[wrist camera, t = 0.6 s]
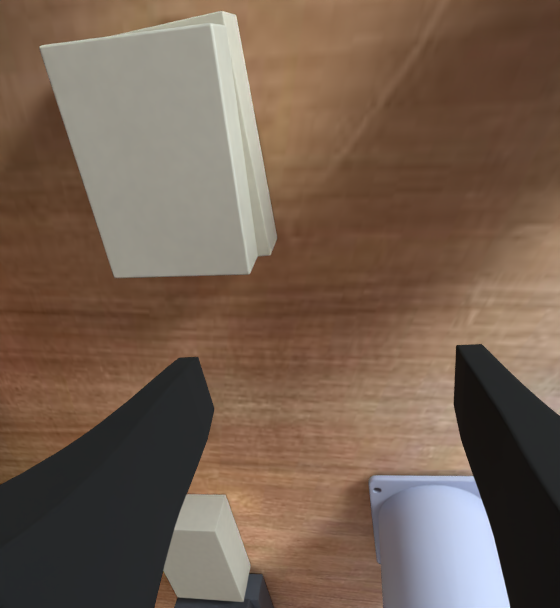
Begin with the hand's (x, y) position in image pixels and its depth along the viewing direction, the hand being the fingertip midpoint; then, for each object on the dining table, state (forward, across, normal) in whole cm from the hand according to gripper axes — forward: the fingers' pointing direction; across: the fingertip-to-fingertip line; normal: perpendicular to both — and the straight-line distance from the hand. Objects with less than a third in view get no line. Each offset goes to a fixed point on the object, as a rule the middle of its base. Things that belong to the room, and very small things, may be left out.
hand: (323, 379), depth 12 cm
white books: (+10, +6, -5) cm, 12 cm away
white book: (+10, +12, +23) cm, 28 cm away
